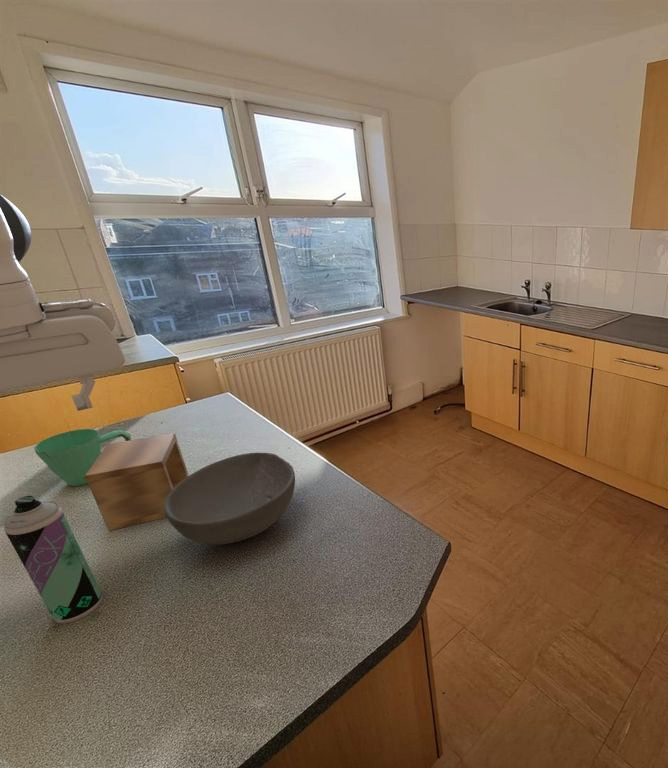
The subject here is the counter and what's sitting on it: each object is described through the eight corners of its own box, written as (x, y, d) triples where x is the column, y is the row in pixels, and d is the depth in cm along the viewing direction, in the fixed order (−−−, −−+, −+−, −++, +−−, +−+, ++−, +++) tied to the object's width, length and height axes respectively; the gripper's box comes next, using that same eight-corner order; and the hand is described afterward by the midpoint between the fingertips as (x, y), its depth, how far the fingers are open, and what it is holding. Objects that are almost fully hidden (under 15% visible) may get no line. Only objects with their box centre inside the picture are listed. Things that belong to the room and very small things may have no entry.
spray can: (52, 607, 65) (-7, 499, 57) (100, 586, 68) (51, 482, 61) (55, 630, 61) (-8, 518, 54) (105, 607, 65) (53, 499, 57)
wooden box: (108, 530, 80) (84, 475, 75) (127, 494, 90) (107, 443, 85) (180, 514, 84) (161, 461, 80) (190, 481, 94) (174, 432, 90)
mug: (50, 499, 88) (30, 457, 84) (55, 477, 95) (37, 437, 91) (142, 473, 97) (127, 434, 93) (140, 455, 104) (127, 418, 100)
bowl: (151, 548, 76) (133, 502, 72) (251, 484, 94) (241, 444, 90) (234, 581, 70) (219, 532, 66) (325, 505, 88) (317, 464, 84)
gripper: (102, 293, 57) (134, 389, 62) (-173, 319, 42) (-100, 440, 48) (111, 300, 53) (144, 402, 58) (-188, 331, 39) (-107, 462, 44)
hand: (32, 420), depth 53 cm, fingers open, 8 cm apart
